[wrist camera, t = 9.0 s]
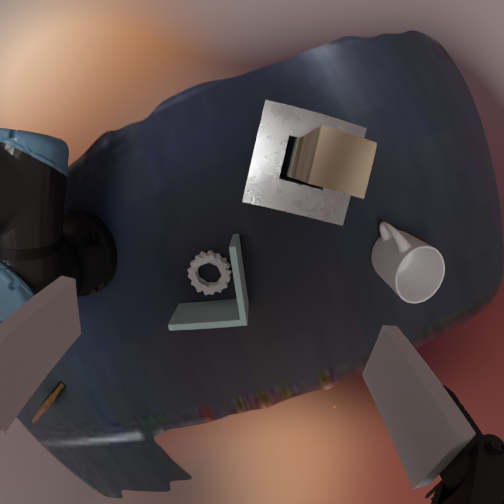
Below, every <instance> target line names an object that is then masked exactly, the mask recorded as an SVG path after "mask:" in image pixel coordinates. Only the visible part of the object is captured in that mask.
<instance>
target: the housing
mask: <svg viewBox="0 0 504 504" xmlns="http://www.w3.org/2000/svg"><path fill="white" fill-rule="evenodd" d="M321 125H323V126H327V127H330V128H333V129H337V130H340V131H343V132H346V133H349V134H352V135H355V136H358V137H361V138H365V133H366V128H364V127H361V126H358V125H355V124H352V123H349V122H346V121H343V120H340V119H337V118H333V117H330V116H327V115H323V114H320V113H316V112H313V111H309V110H306V109H302V108H298V107H294V106H290V105H286V104H282V103H277V102H273V101H268V100H265V105H264V109H263V113H262V117H261V121H260V126H259V130H258V134H257V139H256V143H255V147H254V152H253V156H252V160H251V165H250V169H249V174H248V178H247V183H246V187H245V192H244V196H243V201H242V202H245V203H250V204H254V205H259V206H263V207H268V208H272V209H276V210H281V211H285V212H289V213H293V214H298V215H302V216H306V217H310V218H314V219H318V220H322V221H326V222H330V223H334V224H338V225H342V226H343V223H344V219H345V215H346V212H347V208H348V204H349V201H350V197H351V195H348V194H345V193H341V192H338V191H334V190H331V189H327V188H323V187H319V186H316V185H315V187H314V186H310V185H306V184H302V183H298V182H294V181H290V180H286V179H282V178H279V177H280V173H281V168H282V164H283V160H284V156H285V151H286V147H287V143H288V140H291V141H296V139H297V138H301V137H303V136H304V135H306V134H308V133H309V132H311V131H313V130H314V129H316V128H318V127H319V126H321Z"/></svg>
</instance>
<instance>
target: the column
mask: <svg viewBox="0 0 504 504" xmlns="http://www.w3.org/2000/svg"><path fill="white" fill-rule="evenodd" d="M376 146H377V143H376V142H373V141H370V140H367V139H364V138H361V137H358V136H355V135H352V134H349V133H346V132H343V131H340V130H337V129H333V128H330V127H327V126H323V125H321V126H319V127H318V128H316V129H314V130H313V131H311V132H309V133H308V134H306V135H304V136H303V137H301V138H297V139H296V141H295V143H294V148H293V152H292V156H291V160H290V165H289V169H288V173H287V176H288V177H291V178H295V179H298V180H300V181H303V182H306V183H308V184H312V185H316V186H319V187H323V188H327V189H331V190H334V191H338V192H341V193H345V194H348V195H352V196H355V197H359V198H362V199H364V196H365V193H366V189H367V185H368V181H369V177H370V173H371V168H372V164H373V160H374V155H375V151H376Z"/></svg>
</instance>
